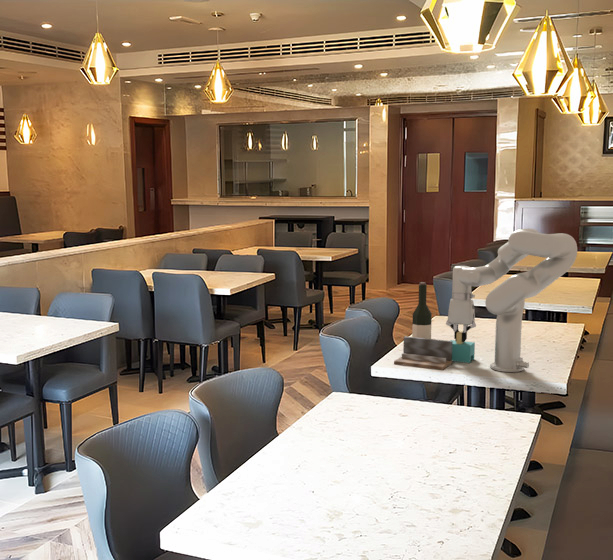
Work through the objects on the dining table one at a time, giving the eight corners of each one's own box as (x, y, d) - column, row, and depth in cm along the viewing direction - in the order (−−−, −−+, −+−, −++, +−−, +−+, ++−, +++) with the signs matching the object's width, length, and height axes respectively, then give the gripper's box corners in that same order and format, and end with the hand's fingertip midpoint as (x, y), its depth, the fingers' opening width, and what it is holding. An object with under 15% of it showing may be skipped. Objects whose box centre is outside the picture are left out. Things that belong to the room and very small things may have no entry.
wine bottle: (425, 355, 295) (427, 284, 291) (408, 352, 300) (409, 283, 296) (434, 352, 302) (436, 282, 298) (417, 349, 307) (418, 281, 303)
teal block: (474, 359, 289) (475, 331, 287) (469, 362, 282) (470, 334, 281) (450, 356, 293) (451, 329, 292) (445, 360, 287) (446, 332, 286)
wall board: (451, 363, 282) (452, 341, 281) (442, 369, 271) (443, 346, 270) (404, 357, 291) (405, 336, 290) (394, 363, 281) (394, 341, 280)
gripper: (483, 296, 284) (482, 341, 286) (445, 294, 292) (444, 337, 294) (478, 299, 278) (477, 344, 280) (439, 296, 285) (438, 341, 287)
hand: (460, 340), depth 287 cm, fingers closed on teal block
